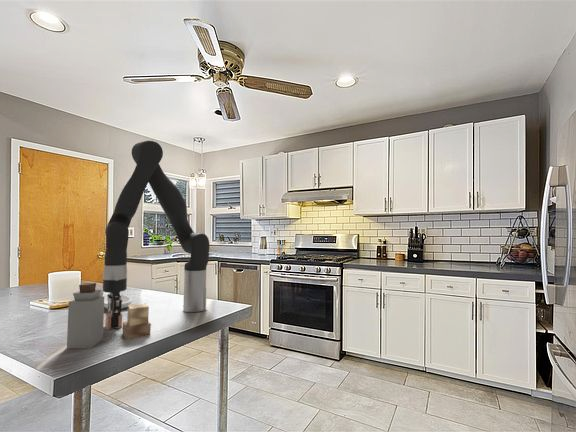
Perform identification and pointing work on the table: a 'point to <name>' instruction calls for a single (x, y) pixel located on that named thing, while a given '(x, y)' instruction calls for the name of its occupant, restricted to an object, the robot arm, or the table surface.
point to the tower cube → (138, 314)
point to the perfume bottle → (85, 317)
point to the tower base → (136, 330)
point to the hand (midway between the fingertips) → (113, 325)
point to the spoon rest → (125, 299)
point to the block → (108, 321)
